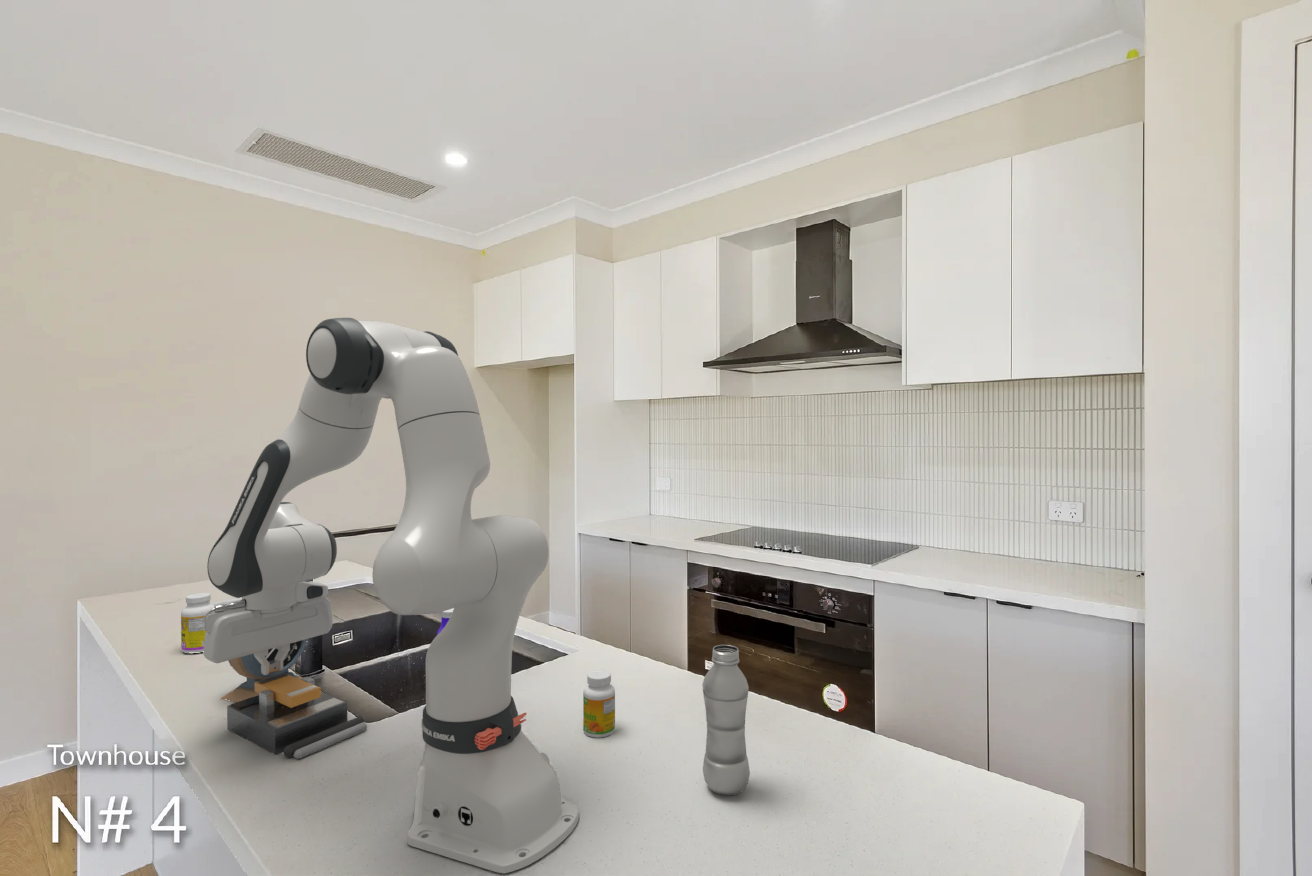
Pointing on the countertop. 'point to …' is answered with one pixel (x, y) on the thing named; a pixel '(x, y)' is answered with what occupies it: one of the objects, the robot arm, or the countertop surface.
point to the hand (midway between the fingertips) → (272, 672)
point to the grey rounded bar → (325, 738)
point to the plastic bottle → (725, 723)
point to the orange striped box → (289, 689)
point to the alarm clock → (252, 670)
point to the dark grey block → (283, 719)
